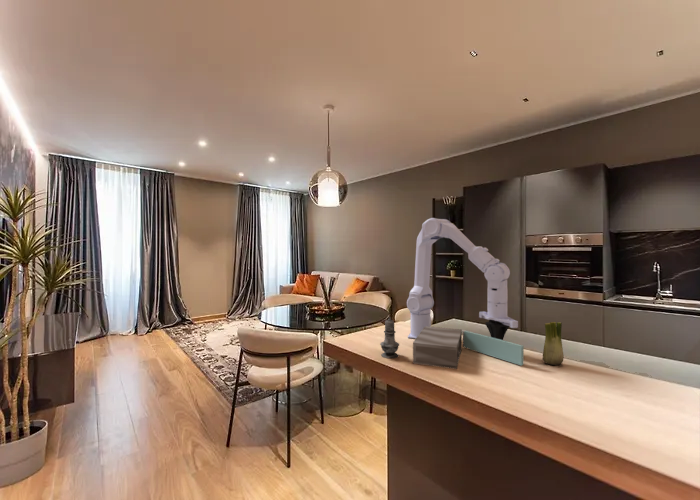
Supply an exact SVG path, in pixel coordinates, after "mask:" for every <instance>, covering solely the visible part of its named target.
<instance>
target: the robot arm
mask: <svg viewBox="0 0 700 500" xmlns="http://www.w3.org/2000/svg"><path fill="white" fill-rule="evenodd" d="M416 237H417V238H416V246H415V247H416V248H415V263H414V264H415V266H414V282H413V283H414V284H413V287H412V288H411V289H410V291H409V293H408V295H409V296H408V298H407V300H406V307H407V310H408V311H409V314H410V333H409V334H408V335H407V338H408V339H414V340H415V339H416V338H417V336H418V335H419V334H420V332H421V331H422V329H423V328H424V327H425V326H429V327H432V317H431V310H432V308H433V307H434V305H435V301H434V297H433V290H432V289H431V287H430V281H431V280H430V277H431V262H432V258H431V257H432V246H433V244H434V243H436V242H437V241H439V240H440V239H443V238H445V239H450V240H452V241H453V243H455V244H457V246H458V247H460V248H461V249H462V250H464V252H466V253H467V256H468V257H467V258H468V260H469V261H470V262H471V263H472V264H473V265H475V266H476V267H477V268H478V270H480V271H481V272H482V273H484V274H483V275H484V278H485V280H486V281H487V293H486V294H487V300H486V301H487V303H486V304H487V308H486V309H487V311H484V310H483V311H479V313H478V318H479V319H485V320H488V321H486V322H485V326H486V328H487V329H488V332H489V335H490V337H492V338H496V339H500V340H504V338H505V336H506V333H507V332H508V330H509V329H510V328H511V329H516V328H519V321H518V320H515V319H514V318H512V317H509V315H508V298H509V297H508V279H509V278H510V275H511V270H510V268H509V266H507V264H506V263H504V262H500V259H499V258H495V257H494V256H493V255H492V254H491V253H490V252H488V251H489V249H488V248H487V247H483V246H482V245H481V246H477V245H475V244H474V243H473V242H472V241H471V240H470V239H469V238H468V237H467V236H466V235H465V234H464V233H463V232H462V231H461V230H460V229H459V228H458V227H457V226H456V224H454V223H452V222H451V221H450V220H448V219H446V218H436V217H430V218H428V219H426V220H425V221H424V222H423V223H422V225H421V230H420V231H419V233H418V235H417V236H416Z"/></svg>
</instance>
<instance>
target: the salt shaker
mask: <svg viewBox="0 0 700 500" xmlns="http://www.w3.org/2000/svg"><path fill="white" fill-rule="evenodd" d="M383 333H384V340H383V341H380V343H379V345H380V347H381V350H382V351H383V352H382V353H381V354H380V355H381V357H382V358H384V359H390V360H391V359H392V360H393V359H396V358H399V354H398V353H397V351H398V349H399V346H400V343H399V342H397V341H396V337H395V335H396V330H395V321H394V320H392V319H391V317H390V316H388V319H386V320H385V322H384V331H383Z"/></svg>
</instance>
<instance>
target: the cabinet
mask: <svg viewBox="0 0 700 500" xmlns="http://www.w3.org/2000/svg"><path fill="white" fill-rule="evenodd" d="M462 347H463V329H459V328H448V327H438V326H437V327H436V326H431V327H429V326H425V327H424V328H423V329H422V331H421V332H420V334H419V335H418V336H417V338H416V339H415V338H414V340H413V341H412V364H415V365H423V366H430V367H431V366H432V367H437V368H438V367H439V368H443V369H444V368H445V369H453V370H457V369H458V365H459V362H460V357H461V356H460V355H461V353H462V352H461V351H462Z"/></svg>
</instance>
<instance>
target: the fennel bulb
mask: <svg viewBox="0 0 700 500" xmlns="http://www.w3.org/2000/svg"><path fill="white" fill-rule="evenodd" d="M562 323H563V322H560V321H557V322H556V321H553V322H552V321H550V322H547V323H546V322H545V323H544V330H545V331H544V333H545V334H544V335H545V337H544V338H545V340H544V343H543V352H542V361H543V362H544V363H546V364H548V365H550V366H551V365H553V366H557V365H558V366H559V365H562V364H563V362H564V360H565V357H564V355H565V354H564V351H563V350H564V349H563V348H564V347H563V340H562V327H563V326H562V325H563V324H562Z"/></svg>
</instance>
